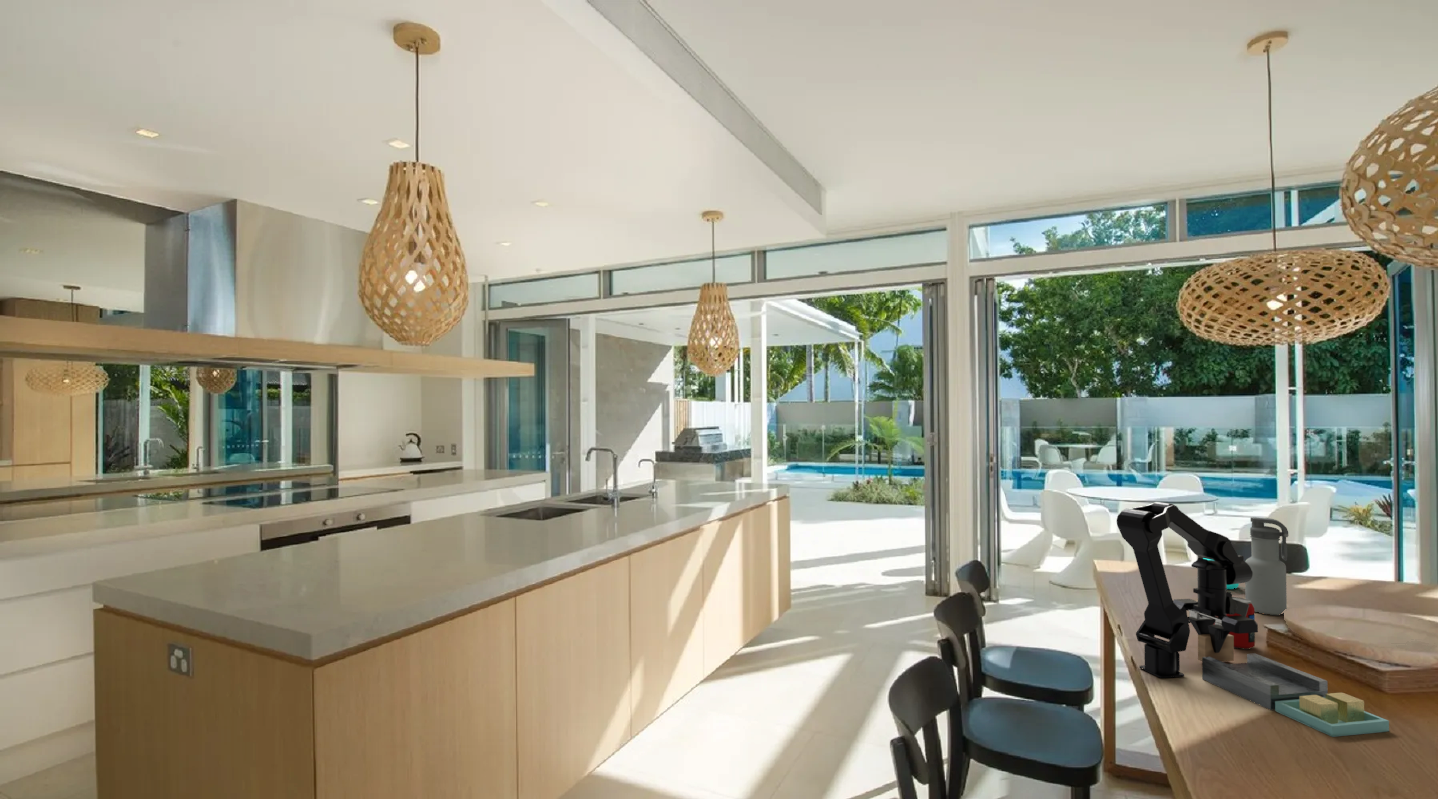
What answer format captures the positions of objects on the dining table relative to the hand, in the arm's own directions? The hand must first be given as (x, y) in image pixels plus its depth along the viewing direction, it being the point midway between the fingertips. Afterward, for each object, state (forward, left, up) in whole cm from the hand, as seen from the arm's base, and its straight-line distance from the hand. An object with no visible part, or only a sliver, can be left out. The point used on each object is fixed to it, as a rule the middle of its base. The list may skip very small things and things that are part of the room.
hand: (1212, 650), depth 164 cm
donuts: (+65, +60, -3) cm, 89 cm away
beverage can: (+17, +9, -3) cm, 20 cm away
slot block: (-4, -16, -3) cm, 17 cm away
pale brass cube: (-7, -28, 0) cm, 29 cm away
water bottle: (+53, +33, -3) cm, 63 cm away
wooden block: (+1, 0, -2) cm, 2 cm away
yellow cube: (-1, -28, 0) cm, 28 cm away
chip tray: (-4, -30, -3) cm, 30 cm away
